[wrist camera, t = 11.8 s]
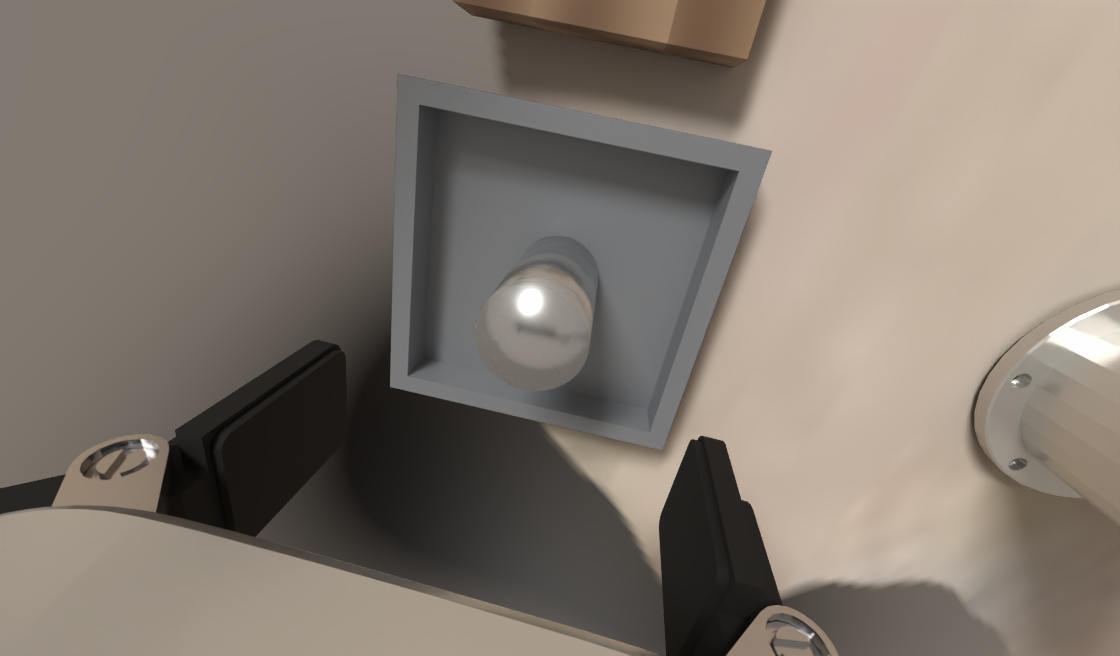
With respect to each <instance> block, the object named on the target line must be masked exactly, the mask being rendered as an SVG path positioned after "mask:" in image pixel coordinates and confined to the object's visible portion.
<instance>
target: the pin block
mask: <svg viewBox="0 0 1120 656" xmlns="http://www.w3.org/2000/svg"><path fill="white" fill-rule="evenodd" d="M453 1H454V2H455V3H456V4H458V5H459V6H460V7H461V8H463V9H464V10H466V11H467V12H468V13H469V14H471V15H473V16H478V17H483V18H488V19H493V20H498V21H503V22H508V23H513V24H518V25H523V26H528V27H533V28H538V29H543V30H548V31H553V32H558V33H563V34H568V35H573V36H578V37H583V38H588V39H593V40H598V41H603V42H608V43H613V44H618V45H623V46H628V47H633V48H638V49H643V50H648V51H653V52H658V53H663V54H668V55H673V56H678V57H683V58H688V59H693V60H698V61H703V62H708V63H713V64H718V65H723V66H728V67H735V66H736V65H738V64H740V63H742V62H744V61H745V60H747V59H748V56H749V53H750V50H751V46H752V43H753V40H754V37H755V34H756V31H757V28H758V24H759V21H760V18H761V15H762V12H763V9H764V5H765V2H766V0H453Z"/></svg>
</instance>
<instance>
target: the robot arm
mask: <svg viewBox="0 0 1120 656" xmlns="http://www.w3.org/2000/svg"><path fill="white" fill-rule="evenodd" d="M346 392H347V389H346V357H345V354H344V352H342V351H341V349H340V347H339V346H338V345H336V344H332V343H328V342H324V341H320V340H314V341H312V342H310V343H309V344H307V345H306V346H304V347H303V348H301V349H300V350H298V351H297V352H295V353H293V354H292V355H290V356H289V357H287V358H286V359H284V360H283V361H281V362H280V363H278V364H276V365H275V366H273V367H272V368H270V369H269V370H267V371H266V372H264V373H263V374H261V375H260V376H258V377H256V378H255V379H253V380H252V381H250V382H249V383H247V384H246V385H244V386H243V387H241V388H239V389H238V390H236V391H235V392H233V393H232V394H230V395H229V396H227V397H225V398H224V399H222V400H221V401H219V402H218V403H216V404H215V405H213V406H212V407H210V408H208V409H207V410H205V411H204V412H202V413H201V414H199V415H198V416H196V417H195V418H193V419H192V420H190V421H188V422H187V423H185V424H184V425H182V426H181V427H179V428H178V429H176V430H175V432H176V437H175V438H173V439H172V440H170V441H169V442H166V440H165V439H163V438H161V437H158V436H156V435H146V434H140V435H139V434H138V435H128V436H124V437H119V438H115V439H112V440H109V441H106V442H104V443H100V444H98V445H96V446H94V447H92V448H90V449H89V450H87V451H85V452H84V453H82V454H81V455H80V456H78V458H76V459H75V460H74V461H73V463H72V464H71V465H70V467H69V469H68V471H67V473H66V474H65V475H60V476H56V477H51V478H47V479H42V480H37V481H33V482H29V483H24V484H19V485H15V486H10V487H6V488H0V656H662V655H659V654H657V653H654V652H651V651H648V650H645V649H642V648H639V647H635V646H632V645H629V644H626V643H623V642H619V641H616V640H613V639H610V638H606V637H603V636H600V635H597V634H593V633H590V632H587V631H584V630H580V629H577V628H574V627H570V626H567V625H563V624H560V623H556V622H553V621H550V620H546V619H543V618H539V617H536V616H532V615H529V614H525V613H522V612H518V611H515V610H512V609H508V608H505V607H501V606H498V605H494V604H491V603H487V602H484V601H480V600H477V599H473V598H470V597H467V596H463V595H459V594H456V593H452V592H449V591H445V590H442V589H438V588H435V587H431V586H428V585H424V584H420V583H417V582H414V581H410V580H407V579H403V578H399V577H396V576H392V575H388V574H385V573H382V572H378V571H374V570H371V569H368V568H364V567H360V566H357V565H353V564H350V563H346V562H343V561H339V560H335V559H332V558H328V557H325V556H321V555H317V554H314V553H310V552H306V551H303V550H299V549H296V548H292V547H288V546H285V545H281V544H278V543H273V542H270V541H267V540H263V539H260V538H256V537H255V536H256V535H257V534H258V533H259V532H260V531H261V530H262V529H263V528H264V527H265V526H266V525H267V524H268V523H269V522H270V521H271V519H272V518H273V517H274V516H275V515H276V514H277V513H278V512H279V511H280V510H281V509H282V508H283V507H284V506H285V504H287V502H288V501H289V500H290V499H291V498H292V497H293V496H294V495H295V494H296V493H297V492H298V491H299V489H301V488H302V487H303V485H304V484H305V483H306V482H307V481H308V480H309V479H310V478H311V477H312V476H313V475H314V474H315V473H316V472H317V471H318V470H319V468H320V467H321V466H322V465H323V464H324V463H325V462H326V461H327V460H328V459H329V458H330V457H331V456H332V455H333V454H334V453H335V451H336V450H337V449H338V448H339V447H340V446H341V445H342V444H343V442H344V441H345V439H346V436H347V432H348V425H347V393H346ZM974 429H975V432H976V435H977V439H978V442H979V445H980V446H981V448H982V449H983V451H984V452H985V454H986V456H987V457H988V458H989V459H990V460H991V461H992V462H993V463H994V464H995V465H996V466H997V467H998V468H999V469H1000V470H1002V471H1003V472H1004V473H1005V474H1006V475H1008V476H1009V477H1010V478H1012V479H1013V480H1015V481H1016V482H1018V483H1019V484H1021V485H1023V486H1026V487H1028V488H1031V489H1033V490H1035V491H1038V492H1041V493H1046V494H1050V495H1055V496H1059V497H1069V498H1081V499H1085V500H1086V501H1088V502H1089V503H1090V504H1091V505H1093V506H1094V507H1095V508H1096V509H1098V510H1099V511H1100V512H1101V513H1103V514H1104V515H1105V516H1106V517H1108V518H1109V519H1110V520H1111V521H1113V522H1114V523H1115V524H1116V525H1118V526H1119V527H1120V289H1118V290H1114V291H1110V292H1107V293H1104V294H1101V295H1098V296H1096V297H1093V298H1091V299H1088V300H1086V301H1083V302H1080V303H1078V304H1075V305H1073V306H1071V307H1070V308H1068V309H1066V310H1064V311H1062V312H1060V313H1058V314H1057V315H1055V316H1053V317H1051V318H1049V319H1047V320H1046V321H1044V322H1043V323H1042V324H1040V325H1039V326H1037V327H1036V328H1035V329H1033V330H1032V331H1030V332H1029V333H1028V334H1026V335H1025V336H1023V337H1022V338H1021V339H1020V340H1019V341H1018V342H1017V343H1016V344H1015V345H1014V346H1013V347H1012V348H1011V349H1010V350H1009V351H1007V352H1006V353H1005V354H1004V355H1003V357H1002V358H1001V359H1000V361H999V362H998V363H997V364H996V366H995V367H994V368H993V370H992V371H991V372H990V373H989V375H988V377H987V379H986V381H985V383H984V385H983V387H982V389H981V391H980V393H979V396H978V400H977V404H976V407H975V411H974ZM659 537H660V554H661V571H662V589H663V606H664V622H665V640H666V656H838V654H837V652H836V650H835V647H834V646H833V644H832V643H831V641H830V640H829V638H828V637H827V636H826V634H825V633H824V632H823V631H822V630H821V629H820V628H819V627H818V626H817V625H816V624H815V623H814V622H813V621H812V620H810V619H809V618H807V617H806V616H805V615H803V614H802V613H800V612H798V611H796V610H793V609H792V608H789V607H785V606H783V605H782V602H781V599H780V595H779V592H778V589H777V586H776V582H775V579H774V576H773V573H772V570H771V566H770V563H769V560H768V557H767V553H766V550H765V547H764V544H763V540H762V537H761V534H760V531H759V528H758V524H757V521H756V518H755V515H754V511H753V509H752V507H751V505H750V504H749V503H748V502H746V501H743V500H741V497H740V494H739V490H738V487H737V483H736V480H735V476H734V473H733V469H732V466H731V462H730V459H729V455H728V452H727V448H726V445H725V443H724V442H723V441H721V440H717V439H713V438H709V437H705V436H700V437H699V438H698V440H693V439H692V440H691V441H690V442H689V445H688V447H687V450H686V452H685V455H684V457H683V460H682V462H681V465H680V467H679V470H678V472H677V475H676V477H675V480H674V483H673V485H672V488H671V490H670V493H669V495H668V498H667V500H666V503H665V505H664V508H663V510H662V513H661V516H660V521H659Z"/></svg>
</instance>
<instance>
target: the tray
mask: <svg viewBox="0 0 1120 656" xmlns="http://www.w3.org/2000/svg"><path fill="white" fill-rule="evenodd" d="M771 153H772V151H770V150H765V149H760V148H755V147H751V146H746V145H741V144H736V143H731V142H726V141H721V140H717V139H712V138H707V137H702V136H697V135H692V134H687V133H683V132H678V131H673V130H668V129H663V128H658V127H653V126H649V125H644V124H639V123H634V122H629V121H624V120H619V119H615V118H610V117H605V116H600V115H595V114H590V113H585V112H581V111H576V110H571V109H566V108H561V107H556V106H551V105H547V104H542V103H537V102H532V101H527V100H522V99H517V98H513V97H508V96H503V95H498V94H493V93H488V92H483V91H478V90H474V89H469V88H464V87H459V86H454V85H449V84H445V83H440V82H434V81H430V80H425V79H420V78H416V77H411V76H406V75H401V74H397V118H396V159H395V203H394V245H393V288H392V330H391V373H390V387H393V388H397V389H402V390H406V391H411V392H415V393H419V394H423V395H427V396H432V397H437V398H441V399H444V400H449V401H453V402H457V403H462V404H466V405H470V406H475V407H479V408H483V409H488V410H492V411H496V412H500V413H505V414H509V415H513V416H517V417H522V418H526V419H530V420H534V421H538V422H543V423H547V424H551V425H556V426H560V427H564V428H568V429H573V430H577V431H581V432H585V433H590V434H594V435H598V436H603V437H607V438H611V439H615V440H620V441H624V442H628V443H632V444H637V445H641V446H645V447H650V448H654V449H658V450H663V447H664V444H665V442H666V439H667V436H668V434H669V431H670V428H671V425H672V423H673V420H674V417H675V414H676V412H677V409H678V406H679V404H680V401H681V398H682V395H683V393H684V390H685V387H686V384H687V382H688V379H689V376H690V374H691V371H692V368H693V365H694V363H695V360H696V357H697V355H698V352H699V349H700V346H701V344H702V341H703V338H704V335H705V333H706V330H707V327H708V325H709V322H710V319H711V316H712V314H713V311H714V308H715V305H716V303H717V300H718V297H719V295H720V292H721V289H722V286H723V284H724V281H725V278H726V275H727V273H728V270H729V267H730V265H731V262H732V259H733V256H734V254H735V251H736V248H737V246H738V243H739V240H740V237H741V235H742V232H743V229H744V226H745V224H746V221H747V218H748V216H749V213H750V210H751V207H752V205H753V202H754V199H755V196H756V194H757V191H758V188H759V186H760V183H761V180H762V177H763V175H764V172H765V169H766V166H767V164H768V161H769V158H770V156H771ZM548 236H565V237H569V238H572V239H574V240H576V241H578V242H579V243H581V244H582V245H584V246H585V247H586V248H587V249H588V250H589V251H590V253H591V254H592V256H593V257H594V259H595V262H596V264H597V268H598V274H599V278H598V287H597V294H596V301H595V309H594V316H593V323H592V331H591V338H590V345H589V352H588V356H587V359H586V361H585V363H584V365H583V367H582V368H581V370H580V371H579V373H578V374H577V375H576V376H575V377H574V378H572V379H571V380H570V381H569V382H567V383H565V384H564V385H561V386H559V387H557V388H554V389H550V390H545V391H529V390H523V389H519V388H515V387H513V386H510V385H508V384H506V383H504V382H503V381H501V380H500V379H498V378H497V377H496V376H494V375H493V374H492V373H491V372H490V371H489V370H488V369H487V368H486V366H485V365H484V364H483V362H482V361H481V359H480V357H479V355H478V352H477V350H476V347H475V342H474V325H475V321H476V318H477V315H478V313H479V311H480V309H481V308H482V306H483V305H484V304H485V302H486V301H487V300H488V298H489V297H490V296H491V295H492V293H493V292H494V291H495V289H496V288H497V287H498V285H499V284H500V283H501V282H502V280H503V279H504V278H505V276H506V275H507V274H508V272H509V271H510V270H511V269H512V267H513V266H514V265H515V263H516V262H517V261H518V259H519V258H520V257H521V256H522V254H523V253H524V252H525V250H526V249H527V248H528V247H529V246H530V245H531V244H533V243H534V242H536V241H537V240H539V239H542V238H544V237H548Z"/></svg>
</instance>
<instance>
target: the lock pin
mask: <svg viewBox="0 0 1120 656" xmlns="http://www.w3.org/2000/svg"><path fill="white" fill-rule="evenodd" d="M598 278H599V274H598V268H597V264H596V262H595V259H594V257H593V256H592V254H591V253H590V251H589V250H588V249H587V248H586V247H585V246H584V245H582V244H581V243H579V242H578V241H576V240H574V239H572V238H569V237H565V236H548V237H544V238H542V239H539V240H537V241H536V242H534V243H533V244H531V245H530V246H529V247H528V248H527V249H526V250H525V252H524V253H523V254H522V256H521V257H520V258H519V259H518V261H517V262H516V263H515V265H514V266H513V267H512V269H511V270H510V271H509V272H508V274H507V275H506V276H505V278H504V279H503V280H502V282H501V283H500V284H499V285H498V287H497V288H496V289H495V291H494V292H493V293H492V295H491V296H490V297H489V298H488V300H487V301H486V302H485V304H484V305H483V306H482V308H481V309H480V311H479V313H478V315H477V318H476V321H475V325H474V342H475V347H476V350H477V352H478V355H479V357H480V359H481V361H482V362H483V364H484V365H485V366H486V368H487V369H488V370H489V371H490V372H491V373H492V374H493V375H494V376H496V377H497V378H498V379H500V380H501V381H503V382H504V383H506V384H508V385H510V386H513V387H515V388H519V389H523V390H529V391H545V390H550V389H554V388H557V387H559V386H561V385H564V384H565V383H567V382H569V381H570V380H571V379H572V378H574V377H575V376H576V375H577V374H578V373H579V371H580V370H581V368H582V367H583V365H584V363H585V361H586V359H587V356H588V352H589V345H590V338H591V331H592V323H593V316H594V309H595V301H596V294H597V287H598Z"/></svg>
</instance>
